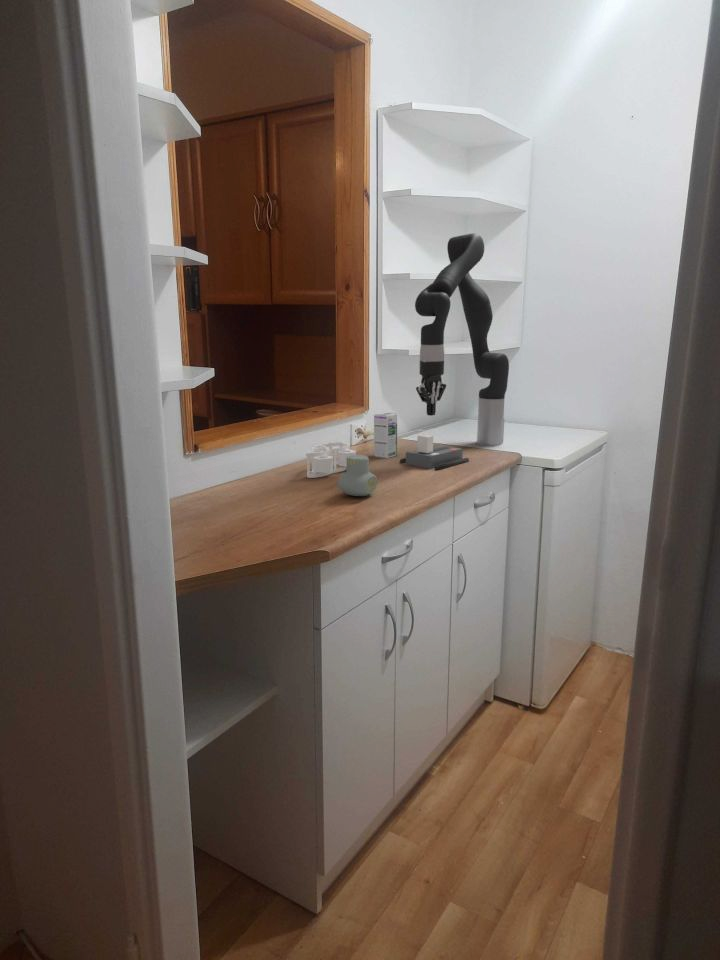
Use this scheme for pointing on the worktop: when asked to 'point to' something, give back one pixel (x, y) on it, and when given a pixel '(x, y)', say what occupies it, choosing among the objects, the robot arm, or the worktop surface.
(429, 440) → the handle
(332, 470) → the skeletal toy car
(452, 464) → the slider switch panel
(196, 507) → the worktop surface
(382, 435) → the syrup box
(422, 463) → the breaker panel
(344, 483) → the air freshener
